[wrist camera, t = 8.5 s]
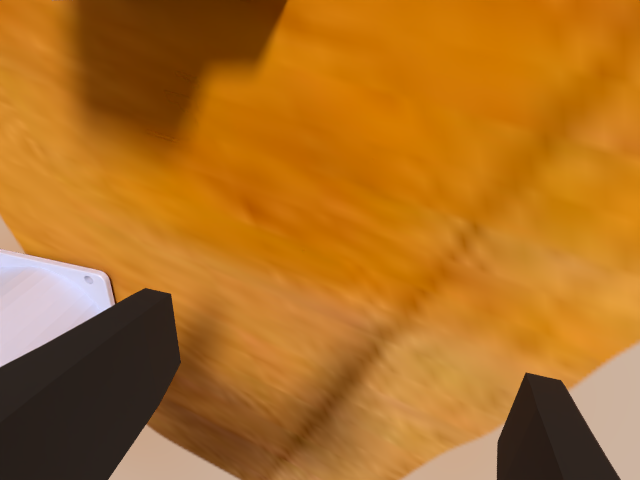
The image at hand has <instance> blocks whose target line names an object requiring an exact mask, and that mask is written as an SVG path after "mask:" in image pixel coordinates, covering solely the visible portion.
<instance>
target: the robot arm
mask: <svg viewBox="0 0 640 480" xmlns="http://www.w3.org/2000/svg"><path fill="white" fill-rule="evenodd" d="M180 363H181V360H180V353H179V346H178V340H177V333H176V326H175V319H174V312H173V305H172V298H171V294H169V293H165V292H160V291H156V290H151V289H147V288H145V289H143V290H141V291H139V292H137V293H135V294H133V295H131V296H129V297H128V298H126V299H124V300H122V301H120V302H119V303H117V304H115V302H114V297H113V293H112V289H111V284H110V280H109V277H108V276H107V274H106V273H104V272H102V271H100V270H95V269H91V268H86V267H82V266H77V265H72V264H68V263H63V262H59V261H54V260H50V259H45V258H40V257H36V256H31V255H27V254H22V253H17V252H13V251H8V250H4V249H0V480H108V479H109V477H110V476H111V475H112V473H113V472H114V470H115V469H116V467H117V466H118V464H119V463H120V461H121V460H122V459H123V457H124V456H125V454H126V453H127V451H128V450H129V448H130V447H131V445H132V444H133V443H134V441H135V440H136V438H137V437H138V435H139V434H140V432H141V431H142V429H143V428H144V426H145V425H146V424H147V422H148V421H149V419H150V418H151V416H152V415H153V413H154V412H155V410H156V409H157V407H158V406H159V404H160V402H161V400H162V398H163V396H164V395H165V393H166V391H167V389H168V387H169V385H170V383H171V381H172V379H173V377H174V375H175V373H176V371H177V369H178V367H179V365H180ZM497 480H621V479H620V478H619V476H618V475H617V473H616V471H615V470H614V468H613V467H612V465H611V463H610V462H609V460H608V458H607V457H606V455H605V453H604V452H603V450H602V448H601V447H600V445H599V443H598V442H597V440H596V438H595V437H594V435H593V434H592V432H591V430H590V428H589V427H588V425H587V423H586V421H585V420H584V418H583V416H582V415H581V413H580V411H579V410H578V408H577V406H576V404H575V402H574V401H573V399H572V397H571V396H570V394H569V392H568V390H567V389H566V387H565V385H564V384H563V382H562V381H561V380H557V379H553V378H548V377H544V376H539V375H535V374H530V373H525V376H524V378H523V381H522V383H521V386H520V388H519V391H518V393H517V396H516V398H515V400H514V403H513V405H512V408H511V410H510V413H509V415H508V418H507V420H506V423H505V425H504V427H503V430H502V432H501V435H500V437H499V440H498V448H497Z"/></svg>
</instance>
